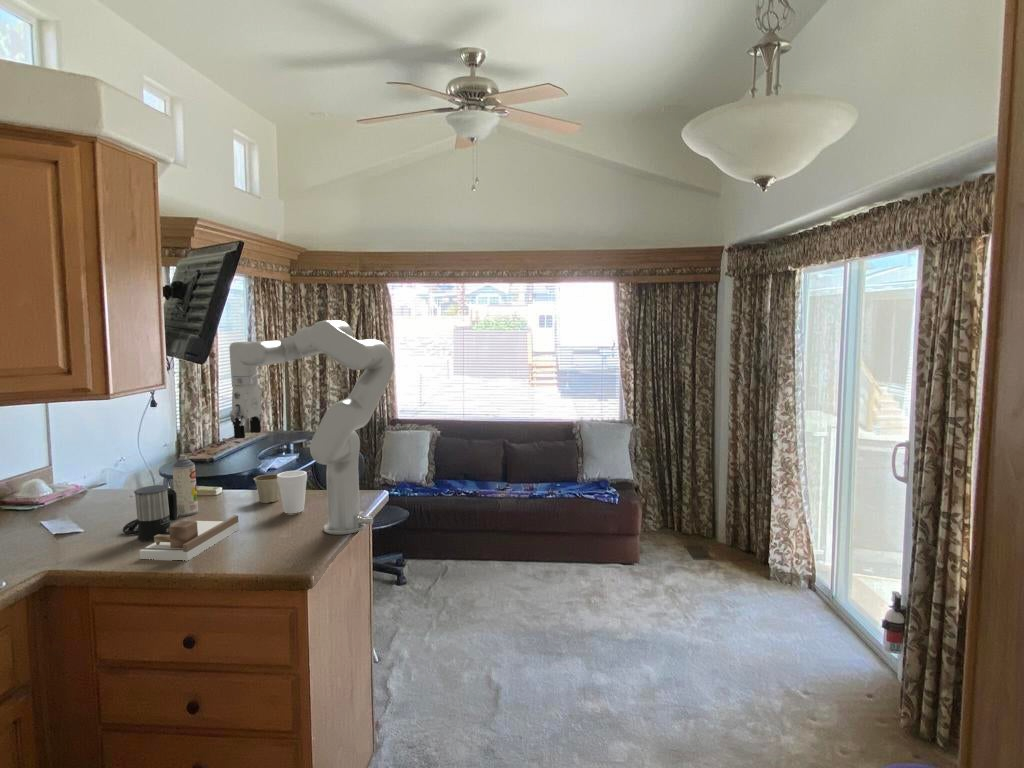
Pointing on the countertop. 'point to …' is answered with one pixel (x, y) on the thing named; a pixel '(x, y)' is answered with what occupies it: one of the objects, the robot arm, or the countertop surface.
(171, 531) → the wooden block
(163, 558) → the board
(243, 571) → the countertop surface
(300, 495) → the foam cup
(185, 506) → the aerosol can
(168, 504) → the milk frother
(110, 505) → the countertop surface
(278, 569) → the countertop surface
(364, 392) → the robot arm
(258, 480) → the flower pot
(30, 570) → the countertop surface
